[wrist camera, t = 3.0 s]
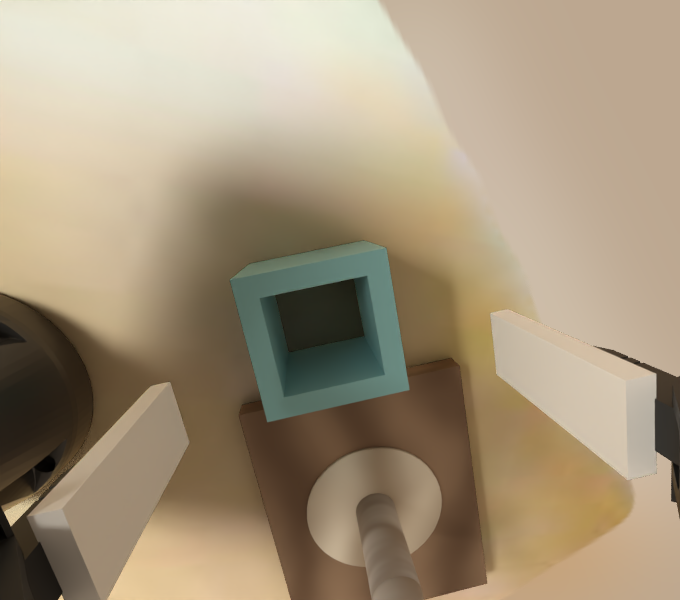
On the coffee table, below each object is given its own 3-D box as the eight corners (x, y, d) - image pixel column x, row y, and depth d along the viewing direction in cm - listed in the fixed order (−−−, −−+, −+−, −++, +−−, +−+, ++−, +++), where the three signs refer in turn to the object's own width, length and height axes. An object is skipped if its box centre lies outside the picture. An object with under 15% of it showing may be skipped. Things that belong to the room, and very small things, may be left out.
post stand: (300, 613, 32) (299, 786, 22) (242, 404, 27) (208, 507, 18) (478, 567, 33) (553, 714, 23) (451, 358, 28) (529, 431, 18)
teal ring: (276, 371, 27) (267, 422, 20) (249, 263, 25) (229, 280, 18) (382, 347, 27) (409, 389, 21) (364, 240, 26) (386, 247, 19)
